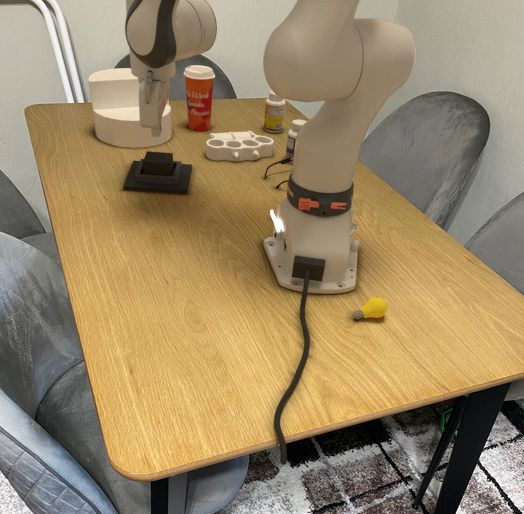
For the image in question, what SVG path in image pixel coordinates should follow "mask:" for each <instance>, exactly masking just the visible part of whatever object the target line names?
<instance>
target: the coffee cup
mask: <svg viewBox="0 0 524 514" xmlns="http://www.w3.org/2000/svg"><path fill="white" fill-rule="evenodd" d="M183 76H184V80H185V81H184V83H185V95H186V109H187V123H188V128H189V129H190V130H192V131H196V132H205V131H208V130H210V128H211V119H212V107H213V94H214V93H213V92H214V91H213V90H214V79H215V78H216V75H215V71H214V70H213V68H212V67H210V66H206V65H201V64H200V65H197V64H194V65H193V64H192V65H188V66H186V67H185V69H184V72H183Z"/></svg>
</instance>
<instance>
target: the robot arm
mask: <svg viewBox="0 0 524 514" xmlns="http://www.w3.org/2000/svg"><path fill="white" fill-rule="evenodd" d="M361 1H362V0H296V2H295V4H294V5H293V7H292V9H291V10H290V12H289V14H288V15H287V16H286V17H285V18H284V19H283V21H282V22H281V23H280V24H278V26H277V27H275V28H274V30H273V31H272V32H271V34H270V35H269V36H268V39H267V41H266V44H265V47H264V51H263V55H262V67H263V73H264V77H265V80H266V82H267V85H268V86H269V88H270V91H273V92H274V93H275V95H276V96H278V97H280V98H283V99H284V100H289V101H295V102H301V103H314V102H323V103H322V104H321V106H320V108H319V109H318V111H317V112H316V113H315V114H314V115H313V116H312V117H311V118H310V119H308V120H306V121H307V122H306V123H305V124H304V125H303V126H302V127H301V128H300V130H299V132H298V134H297V137H296V143H295V151H294V159H293V164H292V167H291V173H290V174H289V176H288V179H287V180H288V182H286V183H287V184H286V197H285V199H284V200H282V201H281V202H280V203H279V204H278V205H277V207H276V213H274V210H273V209H270V217H271V219H272V221H273V224H274V226H273V234H272V235H271V236H268V237H266V238H264V240H263V243H262V245H263V248H264V251H265V253H266V256H267V259H268V260H269V263H270V266H271V268H272V270H273V273H274V275H275V278H276V281H277V282H278V284H279V285H280V286H281V287H282V288H285V289H288V290H292V291H295V292H299V293H302V294H301V298H300V299H301V300H300V307H299V319H300V324H301V327H302V331H303V335H304V343H303V351H302V355H301V358H300V360H299V362H298V366H297V368H296V370H295V373H294V375H293V378H292V380H291V382H290V384H289V386H288V388H287V389H286V390H285V392H284V394H283V396H282V397H281V399H280V400H279V402H278V404H277V406H276V409H275V412H274V417H273V427H274V431H275V434H276V437H277V439H278V440H277V441H278V444H279V451H280V459H279V462H280V465H282V466H285V465H286V464H287V462H288V448H287V442H286V439H285V436H284V434H283V433H284V432H283V431H282V427H281V417H282V412H283V410H284V407H285V405H286V403H287V401H288V399H289V398H290V396H291V394H292V393H293V392H294V390H295V388H296V387H297V385H298V382H299V381H300V377H301V375H302V372H303V370H304V367H305V365H306V362H307V359H308V356H309V352H310V344H311V337H310V331H309V328H308V324H307V321H306V305H307V304H306V303H307V298H308V294H320V295H322V294H323V295H335V294H336V295H337V294H344V293H349V292H352V291H354V290H355V289H356V284H357V269H358V256H359V248H360V242H361V240H359V239H356V238H354V237H352V232H357V230H358V224H357V223H355V222H354V221H353V220H354V217H355V213H356V209H354V207H352V204H353V198H354V193H355V192H354V188H355V182H354V177H355V173H356V169H357V163H358V161H359V156H360V153H361V148H362V145H363V142H364V140H365V137H366V135H367V133H368V130H369V129H370V127H371V125H372V123H373V122H374V120H375V118H376V116H377V115H378V114H379V111H381V109H382V107H383V106H384V105H385V103H387V101H388V100H389V98H390V97H391V96H393V94H395V93H396V92H397V91H398V90H399V89H400V88H402V87H403V86H404V85H405V84H406V83H407V81H409V79H410V76H411V74H412V73H413V70H414V67H415V62H416V53H417V51H416V43H415V40H414V35H413V34H412V33H411V31H410V29H409V28H408V27H407V26H405V25H403V24H402V23H397V22H395V21H392V20H387V19H384V18H377V17H373V18H372V17H370V18H367V17H365V18H356V14H357V10H358V7H359V5H360V3H361ZM125 11H126V12H125V13H126V17H125V21H124V22H125V23H124V33H125V39H126V42H127V46H128V47H129V48H128V51H129V61H130V68H131V73H132V75H134V76H135V77H138V82H139V84H140V86H139V117H140V124H141V126H142V127H144V128H151V132H152V136H153V137H159V136H160V134H161V131H162V128H161V123H162V115H163V112H164V109H165V106H166V104H167V101H168V98H170V91H171V79H173V78H174V77H175V76H176V62H179V61H182V60H186V59H190V58H192V57H195V56H198V55H199V56H200V55H202V54H204V53H206V52H209V51H210V50H211V49H212V47H213V46H214V44H215V42H216V39H217V34H218V33H217V32H218V25H217V19H216V15H215V12H214V10H213V7H212V6H211V5H210V4H209V2H208V1H207V0H125Z"/></svg>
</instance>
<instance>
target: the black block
mask: <svg viewBox="0 0 524 514" xmlns="http://www.w3.org/2000/svg"><path fill="white" fill-rule="evenodd" d="M143 159H144V160H143V171H144V175H158V176H172V174H173V170H174V168H173V161H174V153H173V152H165V151H164V152H163V151H151V150H150V151H148V150H147V151H146V152H145V155H144V158H143Z"/></svg>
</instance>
